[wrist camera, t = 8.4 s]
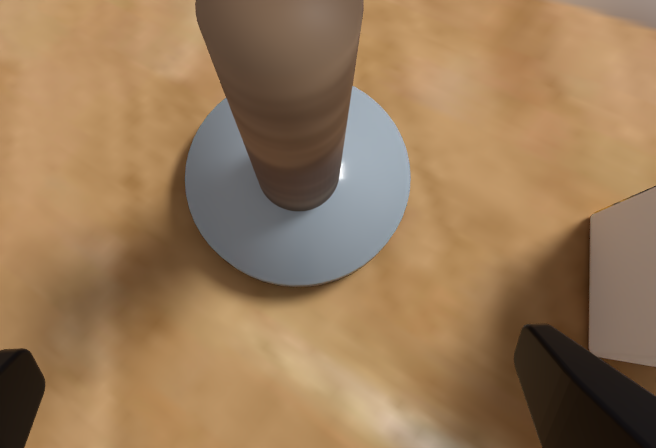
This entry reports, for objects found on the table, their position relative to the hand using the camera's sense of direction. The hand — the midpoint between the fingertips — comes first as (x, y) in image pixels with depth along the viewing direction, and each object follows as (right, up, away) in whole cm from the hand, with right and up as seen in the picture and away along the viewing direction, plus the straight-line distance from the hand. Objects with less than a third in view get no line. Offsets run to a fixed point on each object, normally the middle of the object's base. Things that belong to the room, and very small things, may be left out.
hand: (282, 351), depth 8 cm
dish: (-1, +5, +14) cm, 15 cm away
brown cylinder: (-1, +5, +13) cm, 14 cm away
